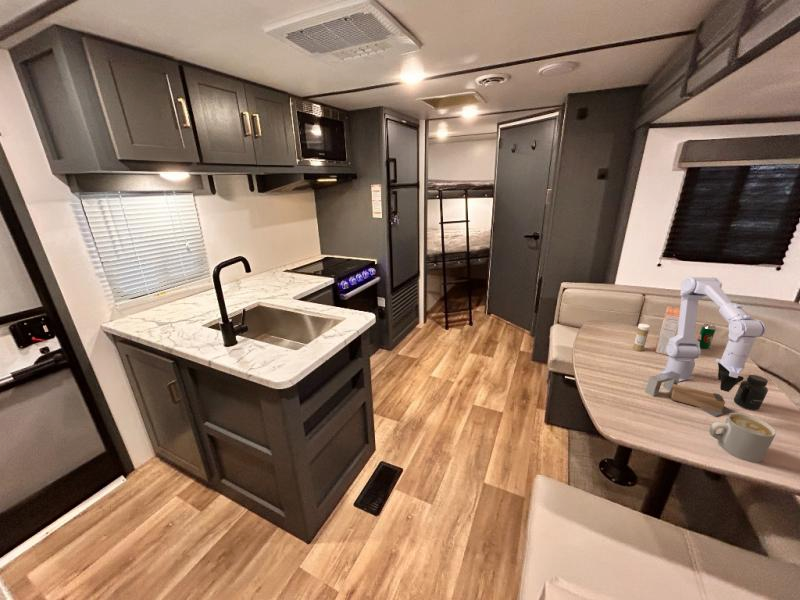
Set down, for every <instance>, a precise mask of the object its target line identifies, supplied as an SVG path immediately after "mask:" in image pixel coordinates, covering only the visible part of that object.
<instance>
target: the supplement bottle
mask: <svg viewBox="0 0 800 600" xmlns="http://www.w3.org/2000/svg"><path fill="white" fill-rule="evenodd" d="M768 381H769V380H768V379H767V378H765V377H763V376H760V375H757V374H749V375H748V376H747V377H746V379H745V380H744V379H743V381H741V382H740V384H739V386H738V388H737V391H736V393H735V395H734V398H733V402H734V403H735V404H736V405H737V406H739V407H740V408H743V409H746V410H750V411H759V410H760V408H761V406H762V404H763V402H764V401H765V398H766V397H767V394H768V392H769V389H768V387H767V384H768Z"/></svg>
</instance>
